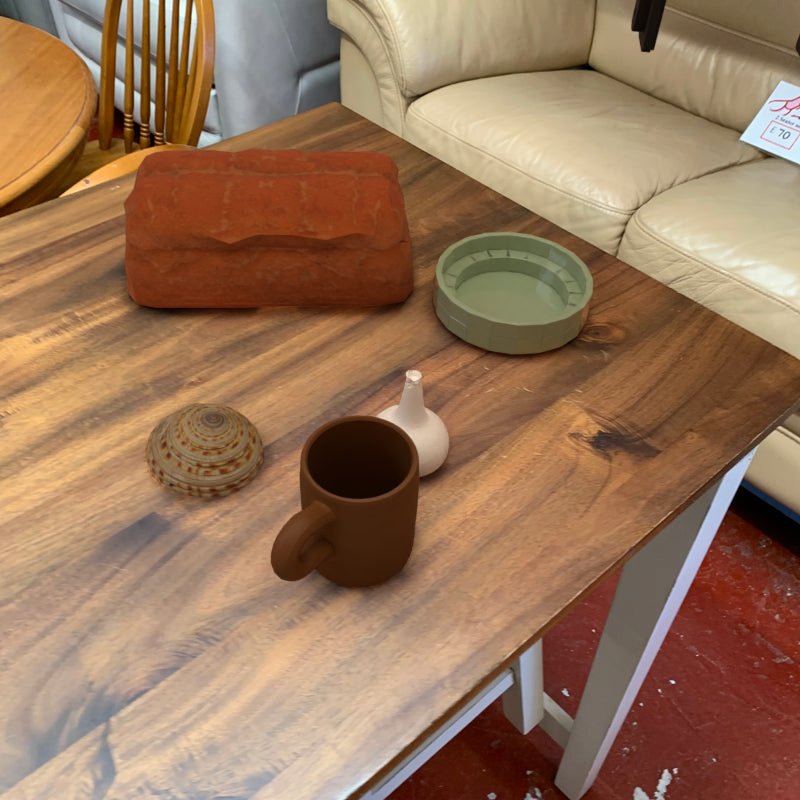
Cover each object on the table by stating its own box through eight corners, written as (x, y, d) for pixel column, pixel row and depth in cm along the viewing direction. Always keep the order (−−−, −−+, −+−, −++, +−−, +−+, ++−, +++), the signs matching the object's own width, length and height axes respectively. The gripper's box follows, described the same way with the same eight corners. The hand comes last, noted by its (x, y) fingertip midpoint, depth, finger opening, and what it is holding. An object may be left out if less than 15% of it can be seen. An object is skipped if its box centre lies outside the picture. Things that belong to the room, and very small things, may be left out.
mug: (330, 664, 51) (326, 578, 45) (238, 602, 54) (222, 512, 48) (434, 536, 59) (444, 446, 52) (348, 487, 61) (347, 396, 55)
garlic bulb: (363, 484, 62) (363, 408, 56) (368, 424, 66) (369, 348, 61) (447, 489, 62) (456, 413, 56) (447, 428, 66) (455, 352, 61)
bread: (147, 224, 85) (127, 127, 78) (405, 224, 87) (410, 129, 80) (120, 319, 74) (94, 216, 67) (416, 316, 76) (423, 216, 69)
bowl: (562, 261, 84) (569, 229, 81) (603, 354, 74) (613, 320, 71) (423, 267, 82) (425, 234, 79) (446, 362, 72) (449, 328, 69)
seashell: (182, 382, 66) (257, 384, 61) (212, 437, 69) (286, 443, 64) (111, 449, 60) (188, 457, 56) (147, 505, 63) (223, 517, 59)
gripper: (1000, -311, 41) (854, 42, 53) (646, -332, 42) (581, 17, 54) (1065, -297, 36) (886, 91, 48) (658, -322, 37) (583, 62, 49)
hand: (724, 51), depth 51 cm, fingers open, 9 cm apart
